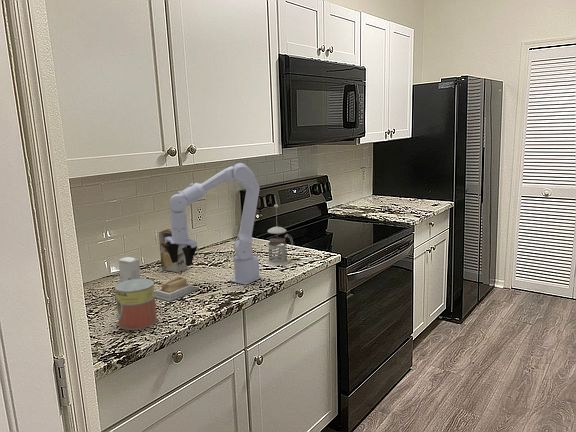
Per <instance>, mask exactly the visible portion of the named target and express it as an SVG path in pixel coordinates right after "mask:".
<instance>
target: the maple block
mask: <svg viewBox="0 0 576 432" xmlns="http://www.w3.org/2000/svg"><path fill="white" fill-rule="evenodd" d="M187 283H188V282H187V278H186V277H182V276H177V277H174V278H171V279H169V280H166V281H163V282H161V288H162V291H163V292H167V293H171V292H174V291H176V290H179V289H181V288H184V287H186V286H187Z"/></svg>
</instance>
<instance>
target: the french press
mask: <svg viewBox="0 0 576 432" xmlns="http://www.w3.org/2000/svg"><path fill="white" fill-rule="evenodd" d="M273 207H274V208H275V212H276V214H275V216H276V220H275V221H276V223H278V218H277V217H278V212H277V211H278V209H277V208H279V207H280V206H279V205H278V204H277V203H276V204H274V205H273ZM286 232H287V229H286V228H284V227H281V226H278V225H276V226H273V227H271V228H269V229H268V230H267V233H268V234H271V235H273V234H274V235H280V234H284V237H273V238H270V239H268V241H269V243H267V245H268V260H267V261H266V264H267V265H269V266H283V265H288V264H289V263H290V260H289V259H288V252H289V251H290V250H291V249H292V248H293V246H294V245H293V244H294V241H293V238H292V236H291V235H290V234H289V233H286ZM285 233H286V234H285ZM288 237H289V241H290V248H289V249H288V248H287V242H286V238H288ZM281 244H282V245H281ZM287 249H288V250H287Z"/></svg>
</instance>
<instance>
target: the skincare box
mask: <svg viewBox="0 0 576 432" xmlns="http://www.w3.org/2000/svg"><path fill="white" fill-rule="evenodd" d="M118 265H119V266H118V267H119V283H120V282H123V281H126V280H130V279H139V278H141V271H140V259H139V258H136V257H132V256H131V257H130V256H125V257H122V258H119V259H118Z"/></svg>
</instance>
